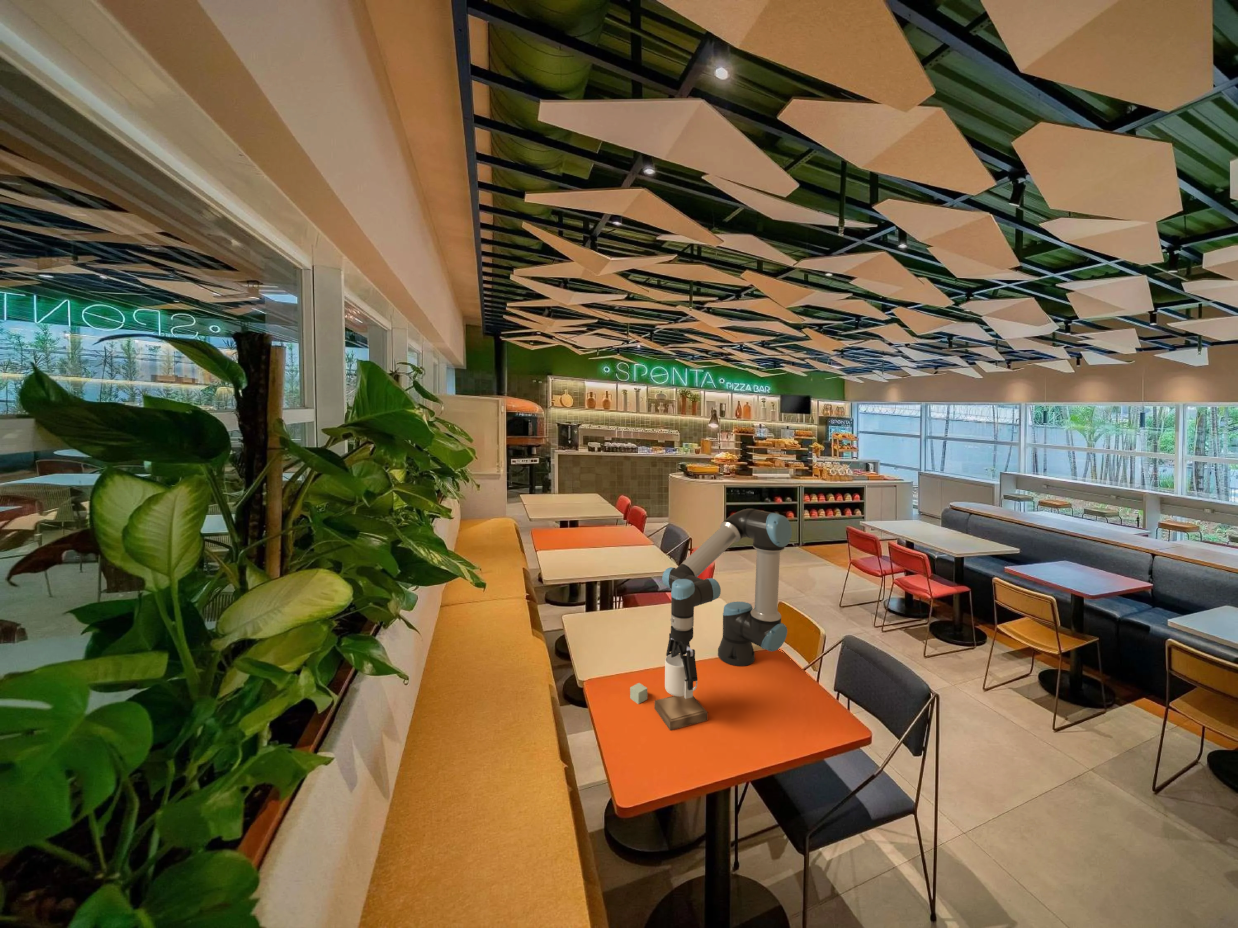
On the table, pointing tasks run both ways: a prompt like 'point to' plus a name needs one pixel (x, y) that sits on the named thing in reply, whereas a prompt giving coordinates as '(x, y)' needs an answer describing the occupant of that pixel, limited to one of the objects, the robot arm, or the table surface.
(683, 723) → the slab
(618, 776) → the table surface
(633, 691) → the sage block
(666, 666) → the mug
